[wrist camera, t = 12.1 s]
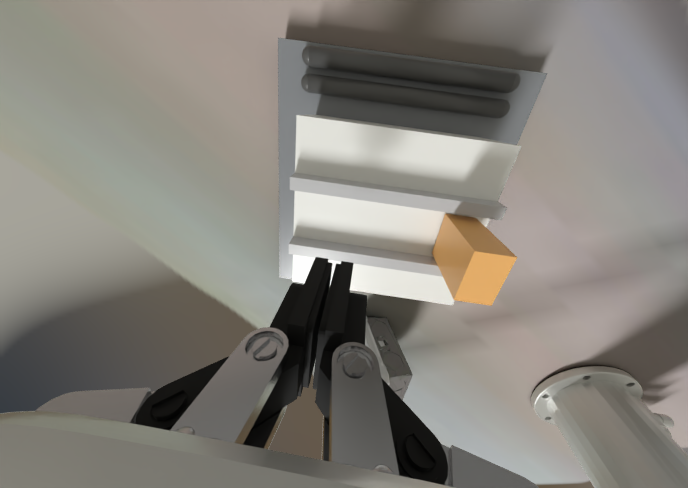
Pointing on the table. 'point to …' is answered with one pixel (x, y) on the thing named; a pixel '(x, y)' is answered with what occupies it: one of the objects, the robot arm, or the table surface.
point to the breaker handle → (471, 259)
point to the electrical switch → (388, 354)
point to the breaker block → (390, 159)
